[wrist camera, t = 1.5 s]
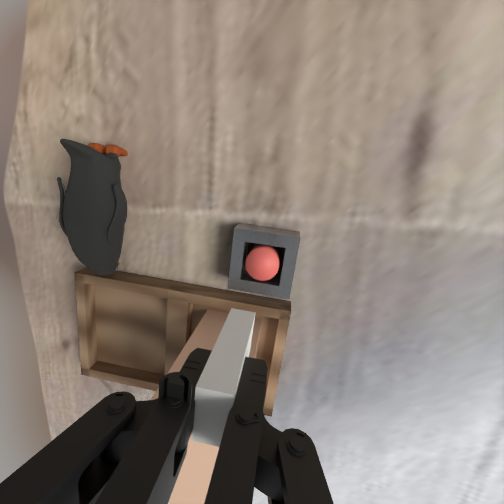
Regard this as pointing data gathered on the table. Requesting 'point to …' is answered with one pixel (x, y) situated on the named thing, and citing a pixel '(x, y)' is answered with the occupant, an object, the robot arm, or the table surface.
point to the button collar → (266, 236)
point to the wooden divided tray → (162, 326)
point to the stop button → (263, 262)
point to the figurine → (94, 205)
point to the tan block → (198, 454)
